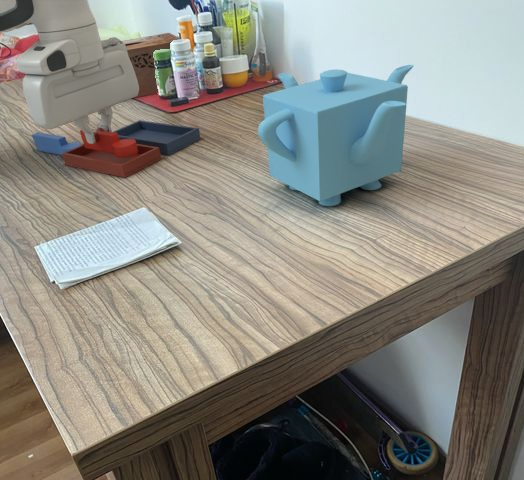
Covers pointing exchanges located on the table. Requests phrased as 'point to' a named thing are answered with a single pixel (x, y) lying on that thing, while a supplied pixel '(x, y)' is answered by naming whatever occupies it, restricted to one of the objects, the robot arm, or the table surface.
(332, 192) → the teakettle
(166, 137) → the blue tray
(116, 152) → the red block with disc
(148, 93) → the tissue box cover
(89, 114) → the robot arm
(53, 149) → the blue stepped block
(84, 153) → the red tray
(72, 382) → the table surface
